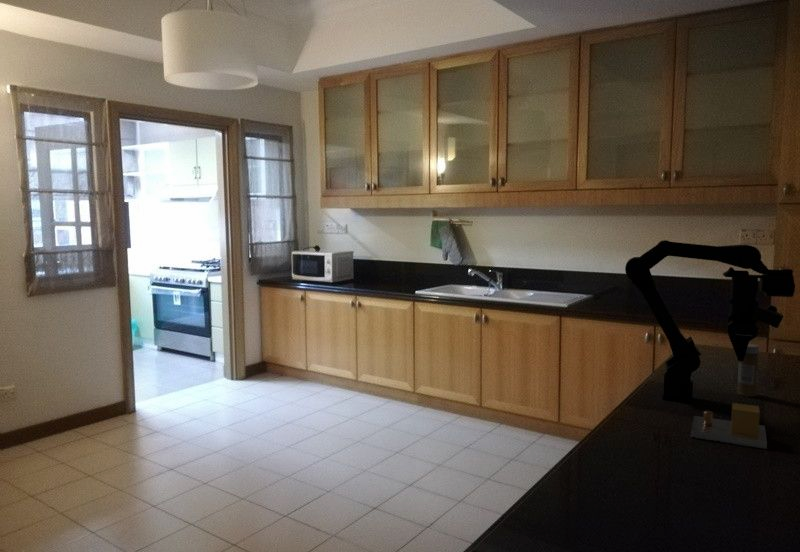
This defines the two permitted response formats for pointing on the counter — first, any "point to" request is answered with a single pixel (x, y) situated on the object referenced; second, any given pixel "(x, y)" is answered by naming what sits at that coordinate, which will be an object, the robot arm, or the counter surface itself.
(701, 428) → the plate
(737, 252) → the robot arm
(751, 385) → the sprinkles bottle
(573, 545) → the counter surface
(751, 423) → the tan cardboard box
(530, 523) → the counter surface
